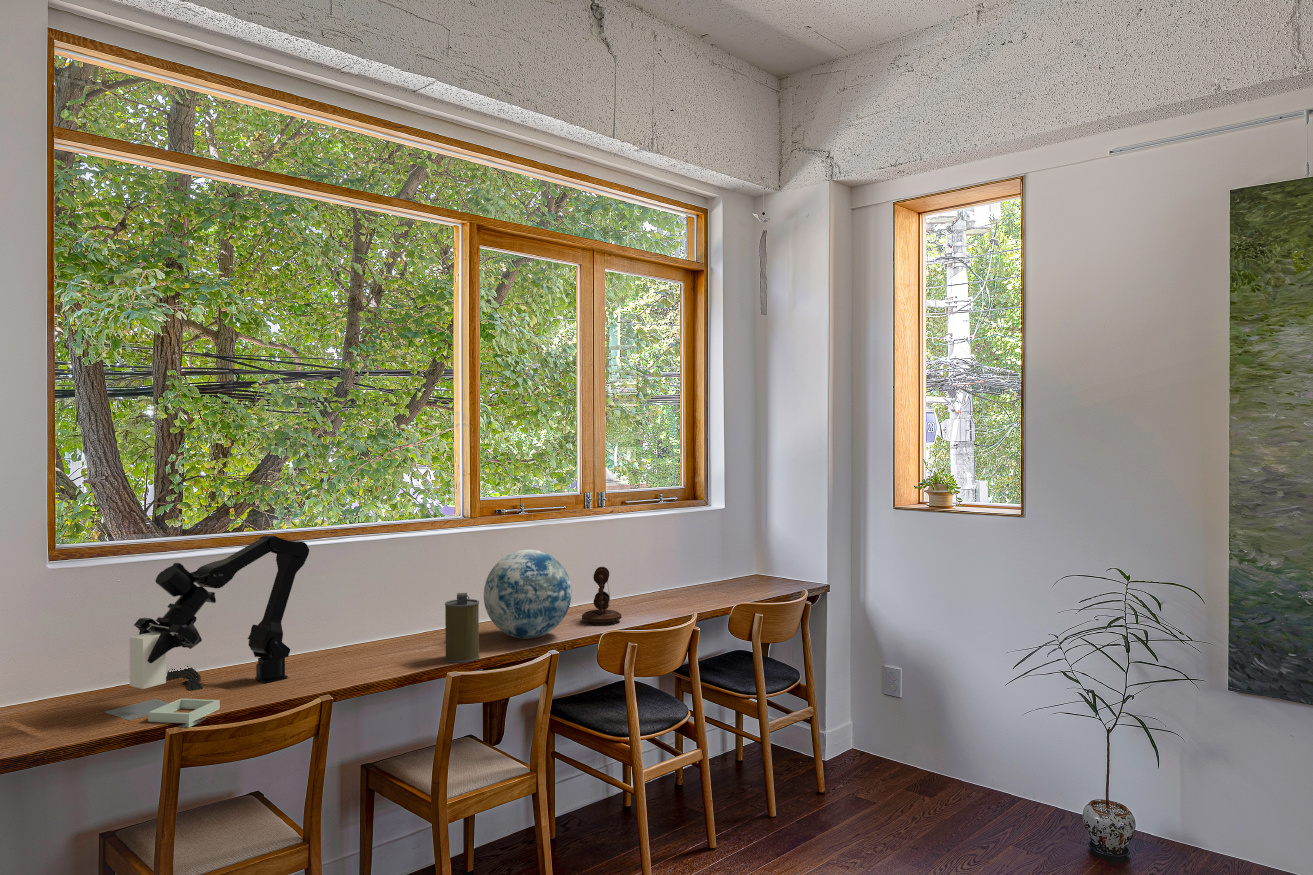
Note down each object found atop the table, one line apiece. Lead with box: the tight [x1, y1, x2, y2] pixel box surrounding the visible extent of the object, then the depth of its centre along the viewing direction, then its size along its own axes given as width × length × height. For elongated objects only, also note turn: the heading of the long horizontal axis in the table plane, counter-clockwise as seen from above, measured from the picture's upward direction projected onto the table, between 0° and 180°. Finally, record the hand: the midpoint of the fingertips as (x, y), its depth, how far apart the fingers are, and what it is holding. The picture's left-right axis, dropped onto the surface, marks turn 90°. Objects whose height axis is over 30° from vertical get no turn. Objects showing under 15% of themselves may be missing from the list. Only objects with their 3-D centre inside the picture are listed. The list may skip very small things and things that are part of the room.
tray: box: [147, 698, 221, 729], centre depth 196 cm, size 11×11×3 cm
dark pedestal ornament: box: [581, 566, 622, 625], centre depth 303 cm, size 15×15×20 cm
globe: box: [483, 549, 573, 640], centre depth 278 cm, size 30×30×30 cm
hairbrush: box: [166, 664, 204, 692], centre depth 224 cm, size 8×4×25 cm
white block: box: [129, 632, 167, 690], centre depth 200 cm, size 6×6×12 cm
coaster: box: [104, 698, 170, 721], centre depth 201 cm, size 12×12×1 cm
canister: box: [444, 592, 480, 664], centre depth 251 cm, size 11×10×20 cm
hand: (142, 660), depth 199 cm, fingers closed on white block, 5 cm apart
